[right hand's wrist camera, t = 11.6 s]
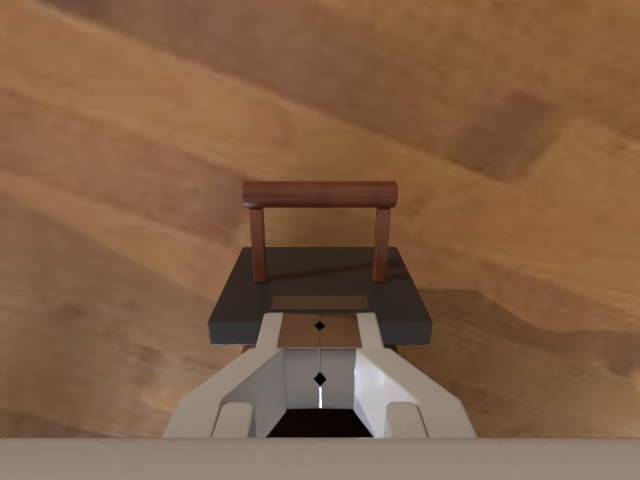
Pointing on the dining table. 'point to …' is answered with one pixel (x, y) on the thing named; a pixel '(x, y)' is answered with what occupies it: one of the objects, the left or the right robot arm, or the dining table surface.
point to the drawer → (319, 286)
